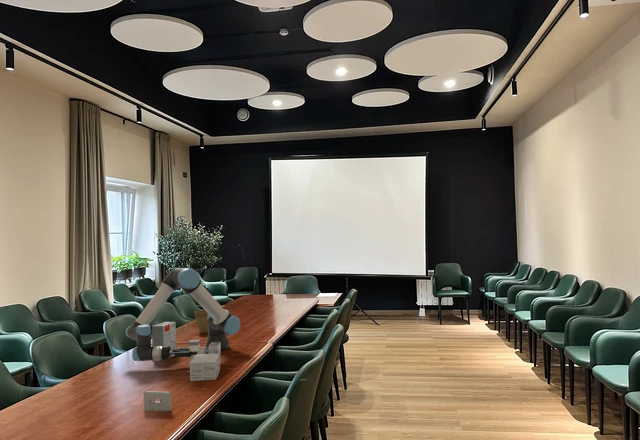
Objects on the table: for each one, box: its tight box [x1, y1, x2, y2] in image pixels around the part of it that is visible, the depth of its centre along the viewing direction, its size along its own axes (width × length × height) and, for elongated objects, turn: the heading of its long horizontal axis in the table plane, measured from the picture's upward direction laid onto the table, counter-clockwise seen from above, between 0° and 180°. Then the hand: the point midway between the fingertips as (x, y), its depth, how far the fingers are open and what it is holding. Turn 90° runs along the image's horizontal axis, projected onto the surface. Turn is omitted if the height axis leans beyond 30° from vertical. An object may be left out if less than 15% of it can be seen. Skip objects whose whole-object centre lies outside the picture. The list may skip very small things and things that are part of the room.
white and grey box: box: [188, 339, 201, 363], centre depth 266 cm, size 9×6×13 cm, turn 94°
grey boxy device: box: [209, 342, 222, 365], centre depth 266 cm, size 9×10×12 cm
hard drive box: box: [151, 321, 177, 350], centre depth 291 cm, size 16×8×20 cm, turn 168°
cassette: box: [143, 390, 172, 412], centre depth 200 cm, size 12×2×8 cm, turn 81°
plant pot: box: [193, 309, 208, 334], centre depth 361 cm, size 15×15×16 cm
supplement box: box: [189, 353, 221, 382], centre depth 248 cm, size 17×13×9 cm
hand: (204, 351), depth 266 cm, fingers closed on white and grey box, 5 cm apart
